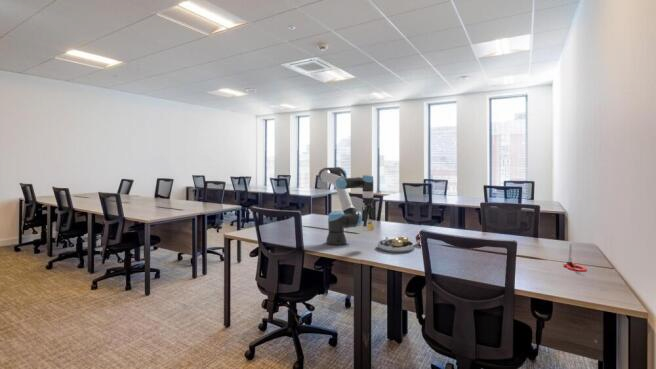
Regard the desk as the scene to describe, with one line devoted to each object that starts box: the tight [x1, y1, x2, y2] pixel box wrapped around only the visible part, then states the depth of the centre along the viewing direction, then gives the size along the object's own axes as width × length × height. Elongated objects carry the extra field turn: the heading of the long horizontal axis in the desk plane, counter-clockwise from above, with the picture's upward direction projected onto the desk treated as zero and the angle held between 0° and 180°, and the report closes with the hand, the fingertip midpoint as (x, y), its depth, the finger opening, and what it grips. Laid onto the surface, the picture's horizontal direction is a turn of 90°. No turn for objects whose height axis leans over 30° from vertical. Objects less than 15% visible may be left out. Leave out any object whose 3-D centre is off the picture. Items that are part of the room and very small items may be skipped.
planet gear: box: [362, 221, 375, 232], centre depth 227 cm, size 7×7×5 cm
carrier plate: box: [377, 236, 415, 254], centre depth 225 cm, size 24×24×7 cm
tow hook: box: [562, 243, 587, 272], centre depth 175 cm, size 8×13×9 cm
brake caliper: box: [415, 229, 425, 247], centre depth 232 cm, size 11×11×12 cm
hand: (368, 229), depth 227 cm, fingers closed on planet gear, 7 cm apart
